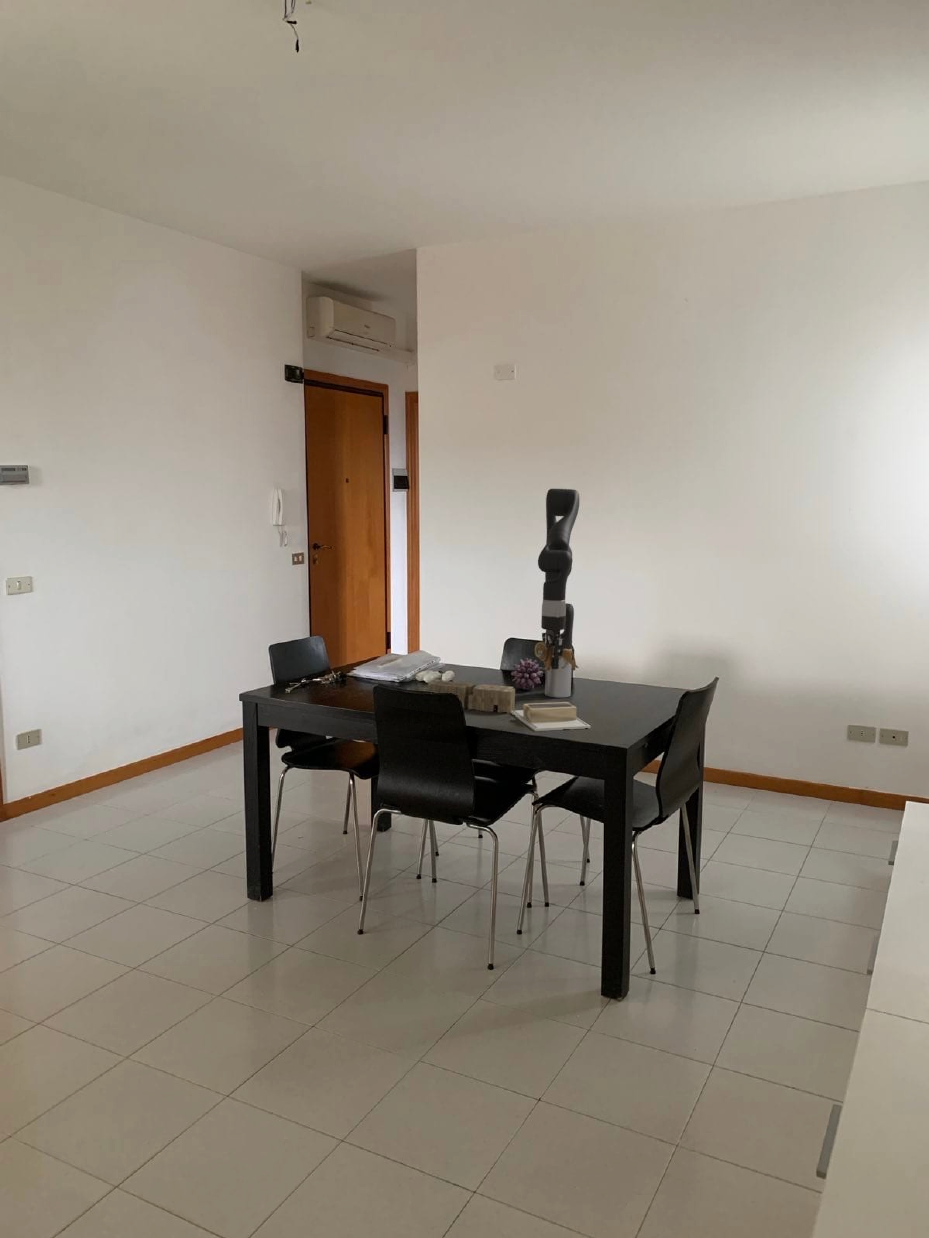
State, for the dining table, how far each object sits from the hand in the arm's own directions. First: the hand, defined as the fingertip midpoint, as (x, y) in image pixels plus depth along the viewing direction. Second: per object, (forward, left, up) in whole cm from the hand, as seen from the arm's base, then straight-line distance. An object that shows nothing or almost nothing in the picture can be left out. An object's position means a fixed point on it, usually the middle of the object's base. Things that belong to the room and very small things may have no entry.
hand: (552, 667), depth 288 cm
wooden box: (0, 0, -17) cm, 17 cm away
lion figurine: (+1, +1, -1) cm, 1 cm away
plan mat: (0, 0, -17) cm, 17 cm away
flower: (-46, +8, -17) cm, 50 cm away
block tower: (-23, -20, -18) cm, 35 cm away
